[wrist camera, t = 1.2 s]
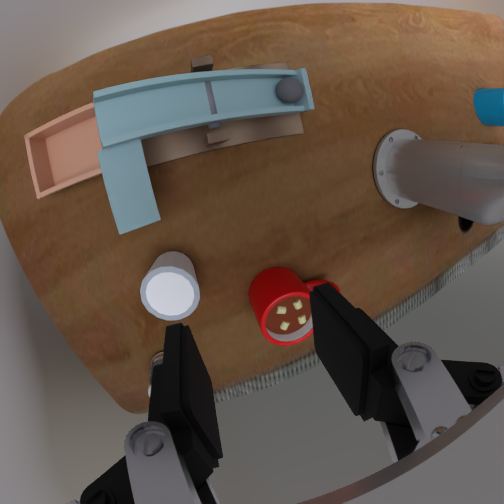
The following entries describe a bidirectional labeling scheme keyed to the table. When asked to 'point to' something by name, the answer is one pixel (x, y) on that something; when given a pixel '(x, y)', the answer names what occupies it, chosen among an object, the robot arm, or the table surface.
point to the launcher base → (227, 134)
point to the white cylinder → (170, 287)
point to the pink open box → (64, 151)
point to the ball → (289, 90)
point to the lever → (175, 124)
